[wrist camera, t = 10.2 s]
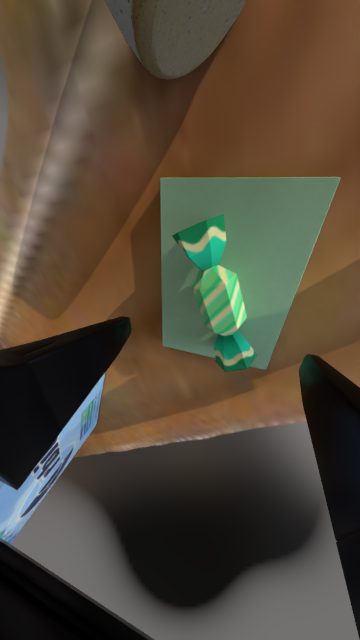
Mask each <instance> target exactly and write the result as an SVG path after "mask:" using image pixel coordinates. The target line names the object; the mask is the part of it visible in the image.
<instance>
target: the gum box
mask: <svg viewBox="0 0 360 640" xmlns="http://www.w3.org/2000/svg"><path fill="white" fill-rule="evenodd" d="M104 377H105V373H104V375H103V376H102V377H101V379H100V380H99V381H98V383H97V384H96V385H95V387H94V388H93V390H92V391H91V392H90V394H89V395H88V396H87V398H86V399H85V400H84V402H83V403H82V404H81V406H80V407H79V409H78V410H77V411H76V413H75V414H74V415H73V417H72V418H71V419H70V421H69V422H68V423H67V425H66V426H65V427H64V428H63V430H62V432H61V433H60V434H59V436H58V437H57V438H56V440H55V441H54V443H53V444H52V445H51V447H50V448H49V449H48V451H47V452H46V453H45V455H44V456H43V457H42V459H41V460H40V461H39V463H38V464H37V466H36V467H35V468H34V470H33V471H32V472H31V474H30V475H29V476H28V478H27V479H26V480H25V482H24V483H23V484H22V486H21V487H20V488H19V489H18V490H16V489H14V488H12V487H10V486H8V485H7V484H5V483H3V482H1V481H0V538H1V539H3V540H5V541H6V542H8V543H9V544H10V543H11V542H12V541H13V539H14V538H15V537H16V535H17V534H18V532H19V531H20V530H21V528H22V527H23V525H24V524H25V523H26V521H27V520H28V519H29V517H30V516H31V515H32V513H33V512H34V510H35V509H36V508H37V506H38V505H39V504H40V502H41V501H42V499H43V498H44V497H45V495H46V494H47V493H48V491H49V490H50V488H51V487H52V485H53V484H54V483H55V482H56V480H57V478H58V477H59V476H60V475H61V473H62V472H63V470H64V469H65V468H66V466H67V465H68V463H69V462H70V461H71V459H72V458H73V457H74V455H75V454H76V452H77V451H78V450H79V448H80V447H81V446H82V444H83V443H84V441H85V440H86V439H87V437H88V436H89V435H90V433H91V432H92V430H93V429H94V428H95V426H96V425H97V419H98V413H99V406H100V400H101V394H102V388H103V382H104Z"/></svg>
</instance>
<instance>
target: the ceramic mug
mask: <svg viewBox="0 0 360 640" xmlns="http://www.w3.org/2000/svg"><path fill="white" fill-rule="evenodd" d="M105 1H106V3H107V5H108V7H109V9H110V11H111V13H112V16H113V18H114V20H115V21H116V23H117V25H118V27H119V29H120V31H121V33H122V34H123V36H124V38H125V40H126V42H127V43H128V45H129V46H130V47H131V49H132V50H133V52H134V53H135V55H136V56H137V58H138V59H139V61H140V62H141V63H142V65H143V66H144V67H145V68H146V69H147V70H148V71H149V72H150V74H152V75H153V76H155V77H156V78H161V79H175V78H179V77H182V76H185V75H186V74H188V73H190V72H191V71H193V70H194V69H196V68H197V67H198V66H199V65H200V64H201V63H202V62H203V61H204V60H205V59H207V58H208V57H209V56H210V54H211V53H212V52H213V51H214V50H215V48H216V47H217V46H218V45H219V43H220V42H221V41H222V40H223V38H224V37H225V35H226V34H227V32H228V31H229V29H230V28H231V26H232V25H233V23H234V22H235V21H236V19H237V17H238V15H239V14H240V12H241V10H242V8H243V6H244V5H245V3H246V1H247V0H105Z"/></svg>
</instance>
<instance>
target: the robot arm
mask: <svg viewBox="0 0 360 640" xmlns="http://www.w3.org/2000/svg"><path fill="white" fill-rule="evenodd" d="M130 334H131V322H130V318H129V317H125V316H121V317H118V318H114V319H111V320H108V321H104V322H101V323H97V324H94V325H90V326H87V327H84V328H80V329H77V330H73V331H70V332H67V333H63V334H60V335H56V336H53V337H49V338H46V339H42V340H39V341H35V342H31V343H27V344H23V345H19V346H15V347H11V348H6V349H2V350H0V481H1V482H3V483H5V484H7V485H8V486H10V487H12V488H14V489H16V490H18V489H19V488H20V487H21V486H22V484H23V483H24V482H25V480H26V479H27V478H28V476H29V475H30V474H31V472H32V471H33V470H34V468H35V467H36V466H37V464H38V463H39V461H40V460H41V459H42V457H43V456H44V455H45V453H46V452H47V451H48V449H49V448H50V447H51V445H52V444H53V443H54V441H55V440H56V438H57V437H58V436H59V434H60V433H61V432H62V430H63V428H64V427H65V426H66V425H67V423H68V422H69V421H70V419H71V418H72V417H73V415H74V414H75V413H76V411H77V410H78V409H79V407H80V406H81V404H82V403H83V402H84V400H85V399H86V398H87V396H88V395H89V394H90V392H91V391H92V390H93V388H94V387H95V385H96V384H97V383H98V381H99V380H100V379H101V377H102V376H103V375H104V373H105V372H106V371H107V369H108V368H109V367H110V365H111V364H112V362H113V361H114V360H115V358H116V357H117V356H118V354H119V353H120V351H121V349H122V348H123V346H124V344H125V342H126V341H127V339H128V337H129V335H130ZM299 376H300V386H301V395H302V402H303V407H304V411H305V415H306V419H307V423H308V428H309V432H310V435H311V440H312V444H313V448H314V452H315V457H316V460H317V465H318V469H319V473H320V477H321V481H322V485H323V490H324V494H325V497H326V502H327V506H328V510H329V514H330V518H331V522H332V527H333V531H334V535H335V539H336V541H337V542H336V544H337V548H338V552H339V556H340V560H341V564H342V569H343V573H344V577H345V581H346V585H347V589H348V593H349V597H350V601H351V606H352V610H353V614H354V618H355V622H356V626H357V630H358V634H359V638H360V388H359V387H358V386H357V385H356V384H354V383H353V382H352V381H350V380H349V379H348V378H346V377H345V376H344V375H342V374H341V373H340V372H339V371H337V370H336V369H335V368H333V367H332V366H331V365H329V364H328V363H327V362H325V361H324V360H323V359H322V358H320V357H319V356H316V355H311V354H307V355H306V356H305V358H304V360H303V362H302V364H301V366H300V368H299ZM0 640H154V639H153V638H151V637H150V636H148V635H147V634H145V633H144V632H142V631H141V630H139V629H137V628H136V627H134V626H133V625H132V624H130V623H129V622H127V621H126V620H124V619H122V618H121V617H119V616H118V615H116V614H115V613H113V612H112V611H110V610H109V609H107V608H106V607H104V606H103V605H101V604H100V603H98V602H97V601H95V600H94V599H92V598H91V597H89V596H88V595H86V594H85V593H83V592H82V591H80V590H79V589H77V588H76V587H74V586H73V585H71V584H70V583H68V582H67V581H65V580H63V579H62V578H60V577H59V576H57V575H56V574H54V573H53V572H51V571H50V570H48V569H47V568H45V567H44V566H42V565H41V564H39V563H38V562H36V561H35V560H33V559H32V558H30V557H29V556H27V555H26V554H24V553H23V552H21V551H20V550H18V549H16V548H15V547H14V546H12V545H11V544H9V543H8V542H6V541H5V540H3V539H1V538H0Z"/></svg>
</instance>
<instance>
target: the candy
mask: <svg viewBox="0 0 360 640" xmlns="http://www.w3.org/2000/svg"><path fill="white" fill-rule="evenodd" d="M172 237H173V238H174V240H175V241H176V242H177V244H178V245H179V246H180V248H181V249H182V251H183V252H184V253H185V255H186V256H187V257H188V258H189V259H190V260H191V261H192V262H193V263H194V264H195V265H196V266H197V267H198V268H199V269H200V272H199V274H198V276H197V277H196V279H195V281H194V283H193V285H192V289H193V292H194V295H195V298H196V301H197V304H198V306H199V309H200V312H201V315H202V318H203V321H204V324H205V325H206V326H207V327H208V328H209V329H210V330H212V331H213V332H214V333H216V334H218V337H217V339H216V342H215V345H214V351H215V358H216V362H217V363H218V364H219V365H220V367H221V368H222V369H223V370H224V371H233V370H241V369H247V368H248V367H249V365H250V364H251V363H252V361H253V360H254V359H255V358H256V356H257V354H256V352H255V351H254V350H253V348H252V347H251V346H250V344H249V343H248V342H247V340H246V339H245V338H244V337H243V336H242V335H241V334H240V333H239V332H238V331H237V330H238V328H239V327H240V326H241V324H242V323H243V322H244V321H245V319H246V318H247V315H246V311H245V307H244V303H243V298H242V294H241V290H240V286H239V282H238V278H237V274H236V273H234V272H232V271H230V270H228V269H225V268H223V267H221V266H219V264H220V261H221V258H222V254H223V251H224V248H225V245H226V232H225V223H224V214H222V215H219V216H216V217H214V218H211V219H208V220H205V221H203V222H201V223H198V224H196V225H194V226H191V227H189V228H187V229H184V230H182V231H179V232H177V233H176V234H174V235H172Z"/></svg>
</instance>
